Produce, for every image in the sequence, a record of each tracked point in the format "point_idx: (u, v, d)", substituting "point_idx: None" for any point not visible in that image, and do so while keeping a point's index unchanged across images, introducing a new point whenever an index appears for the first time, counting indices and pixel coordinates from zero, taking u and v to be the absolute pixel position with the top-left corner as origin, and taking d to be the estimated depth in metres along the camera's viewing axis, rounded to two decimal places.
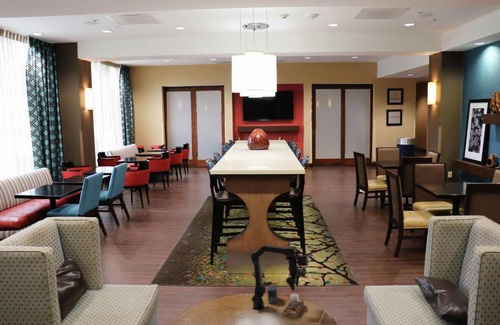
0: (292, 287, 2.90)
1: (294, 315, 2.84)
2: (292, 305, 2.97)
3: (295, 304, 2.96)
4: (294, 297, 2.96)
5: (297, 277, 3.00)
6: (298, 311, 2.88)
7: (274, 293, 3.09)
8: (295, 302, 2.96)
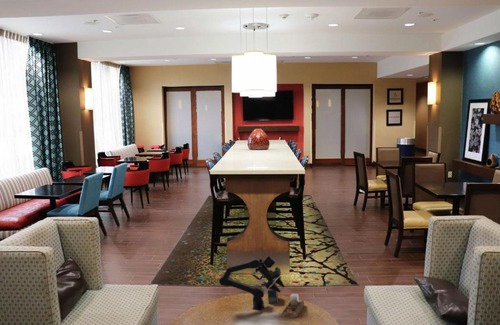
0: (276, 289, 2.96)
1: (294, 315, 2.84)
2: (292, 305, 2.97)
3: (295, 304, 2.96)
4: (294, 297, 2.96)
5: (278, 279, 3.06)
6: (298, 311, 2.88)
7: (274, 293, 3.09)
8: (295, 302, 2.96)
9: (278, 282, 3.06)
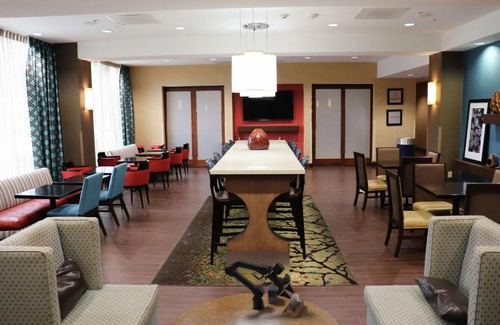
0: (287, 296, 2.94)
1: (294, 315, 2.84)
2: (292, 305, 2.97)
3: (295, 304, 2.96)
4: (294, 297, 2.96)
5: (288, 286, 3.04)
6: (298, 311, 2.88)
7: (274, 293, 3.09)
8: (295, 302, 2.96)
9: (288, 289, 3.04)
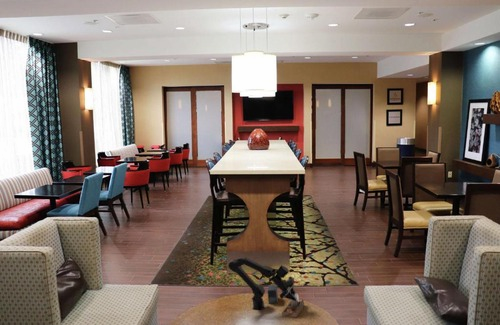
0: (291, 298, 2.95)
1: (294, 315, 2.84)
2: (292, 305, 2.97)
3: (295, 304, 2.96)
4: (294, 297, 2.96)
5: (291, 290, 3.01)
6: (298, 311, 2.88)
7: (274, 293, 3.09)
8: (295, 302, 2.96)
9: (291, 293, 3.01)
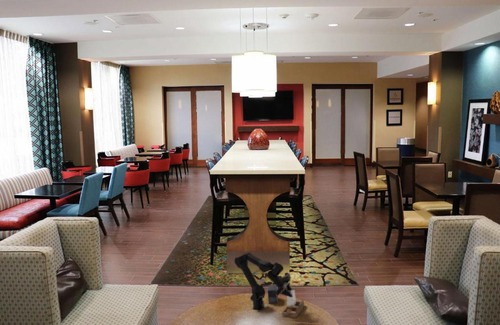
0: (288, 294, 2.87)
1: (294, 315, 2.84)
2: (288, 302, 2.89)
3: (291, 301, 2.88)
4: (290, 293, 2.88)
5: (287, 286, 2.93)
6: (298, 311, 2.88)
7: (274, 293, 3.09)
8: (291, 298, 2.88)
9: (287, 289, 2.94)
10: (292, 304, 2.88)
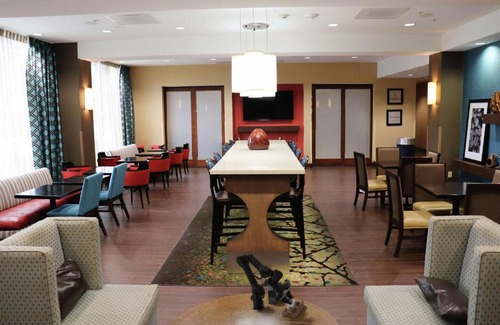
0: (287, 301, 2.86)
1: (294, 315, 2.84)
2: None
3: (291, 309, 2.87)
4: None
5: (288, 292, 2.94)
6: (298, 311, 2.88)
7: (274, 293, 3.09)
8: (291, 307, 2.87)
9: (288, 295, 2.94)
10: None
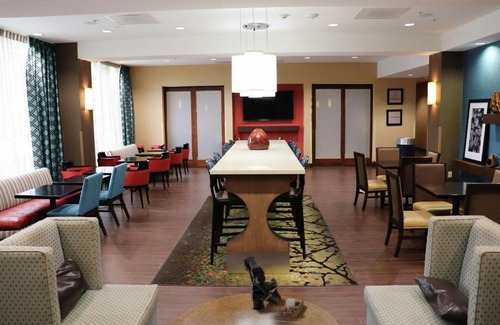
0: (273, 301, 2.88)
1: (294, 315, 2.84)
2: None
3: (291, 309, 2.87)
4: (290, 302, 2.87)
5: (275, 291, 2.98)
6: (298, 311, 2.88)
7: None
8: (291, 307, 2.87)
9: (275, 294, 2.98)
10: None
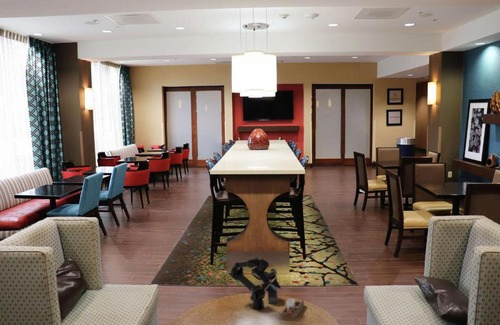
0: (272, 291, 2.93)
1: (294, 315, 2.84)
2: None
3: (291, 309, 2.87)
4: (290, 302, 2.87)
5: (274, 281, 3.04)
6: (298, 311, 2.88)
7: (274, 293, 3.09)
8: (291, 307, 2.87)
9: (274, 283, 3.04)
10: None
